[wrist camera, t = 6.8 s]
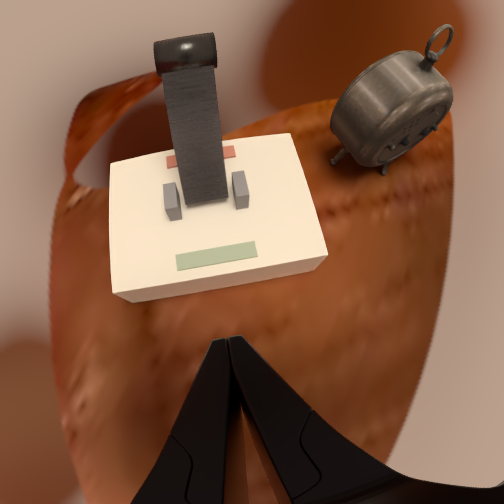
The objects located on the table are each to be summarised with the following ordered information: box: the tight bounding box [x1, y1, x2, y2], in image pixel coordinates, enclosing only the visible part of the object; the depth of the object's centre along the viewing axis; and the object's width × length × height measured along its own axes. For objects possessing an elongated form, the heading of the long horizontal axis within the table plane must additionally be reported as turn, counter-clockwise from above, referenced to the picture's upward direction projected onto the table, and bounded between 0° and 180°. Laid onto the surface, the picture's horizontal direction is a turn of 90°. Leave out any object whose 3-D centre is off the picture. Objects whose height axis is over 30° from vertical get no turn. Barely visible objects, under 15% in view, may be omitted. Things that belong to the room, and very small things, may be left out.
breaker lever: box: [154, 32, 229, 205], centre depth 16 cm, size 2×3×10 cm
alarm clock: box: [330, 24, 453, 175], centre depth 19 cm, size 11×5×16 cm, turn 120°
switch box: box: [109, 133, 328, 303], centre depth 21 cm, size 10×14×6 cm
